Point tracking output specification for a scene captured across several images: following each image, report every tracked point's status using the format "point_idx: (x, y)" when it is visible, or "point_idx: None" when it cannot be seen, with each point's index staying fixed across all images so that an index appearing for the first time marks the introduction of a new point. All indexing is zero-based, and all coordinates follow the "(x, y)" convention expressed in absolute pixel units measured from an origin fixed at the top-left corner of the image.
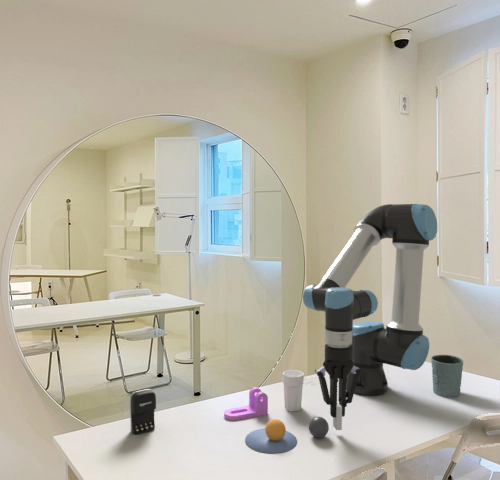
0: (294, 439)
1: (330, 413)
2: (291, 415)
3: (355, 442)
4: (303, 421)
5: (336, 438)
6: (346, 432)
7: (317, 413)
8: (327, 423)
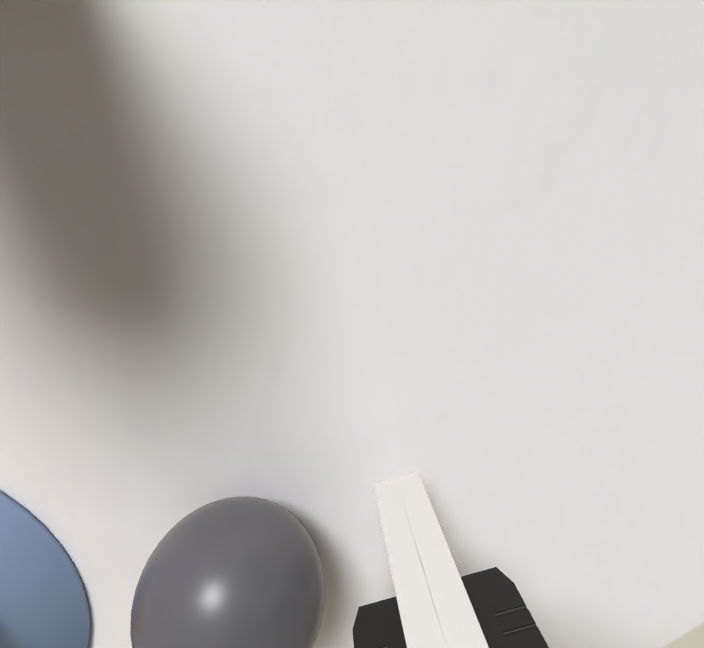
0: (64, 597)
1: (355, 641)
2: None
3: (496, 563)
4: (105, 265)
5: (378, 530)
6: (469, 437)
7: (248, 44)
8: (311, 645)
